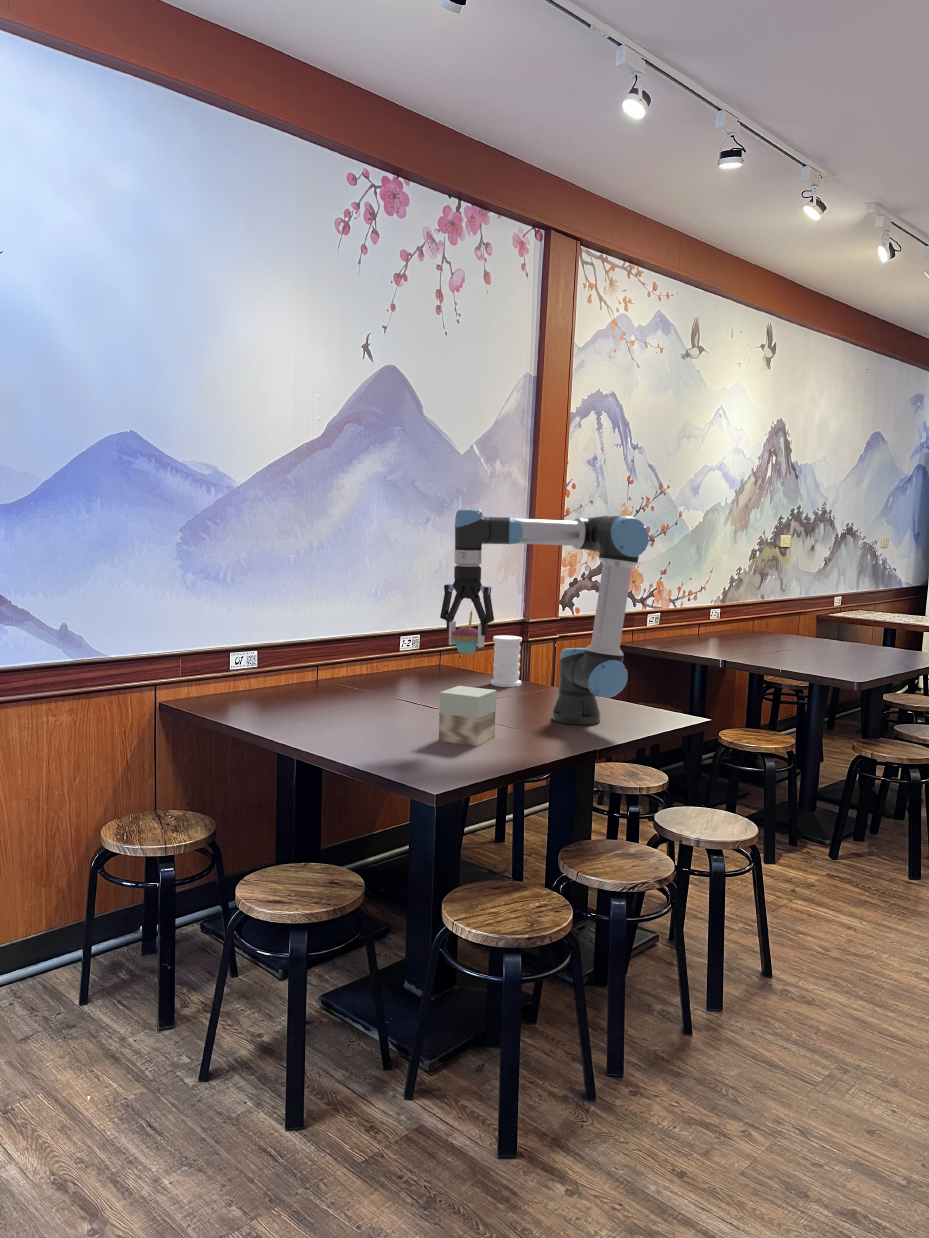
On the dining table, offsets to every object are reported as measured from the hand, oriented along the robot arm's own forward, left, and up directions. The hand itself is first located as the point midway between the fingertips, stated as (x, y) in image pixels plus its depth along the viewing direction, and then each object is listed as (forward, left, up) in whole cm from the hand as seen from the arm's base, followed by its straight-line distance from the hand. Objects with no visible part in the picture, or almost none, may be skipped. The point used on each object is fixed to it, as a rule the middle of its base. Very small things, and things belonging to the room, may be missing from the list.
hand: (466, 645), depth 259 cm
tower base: (-1, 0, -27) cm, 27 cm away
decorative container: (+24, -86, -27) cm, 93 cm away
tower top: (-1, 0, -19) cm, 19 cm away
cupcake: (0, 0, -2) cm, 2 cm away
